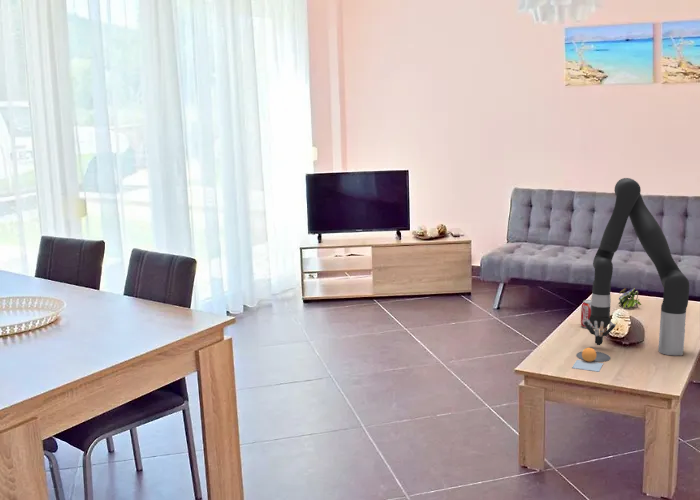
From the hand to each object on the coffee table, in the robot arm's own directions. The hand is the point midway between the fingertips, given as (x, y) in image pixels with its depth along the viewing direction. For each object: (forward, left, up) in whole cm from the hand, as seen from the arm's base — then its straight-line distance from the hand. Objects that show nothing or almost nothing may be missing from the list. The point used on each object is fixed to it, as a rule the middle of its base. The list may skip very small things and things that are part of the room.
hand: (598, 344), depth 305 cm
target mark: (0, +12, -2) cm, 12 cm away
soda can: (+9, -29, -2) cm, 30 cm away
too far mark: (0, +24, -2) cm, 24 cm away
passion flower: (-3, -73, -2) cm, 73 cm away
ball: (+1, +18, +1) cm, 19 cm away
